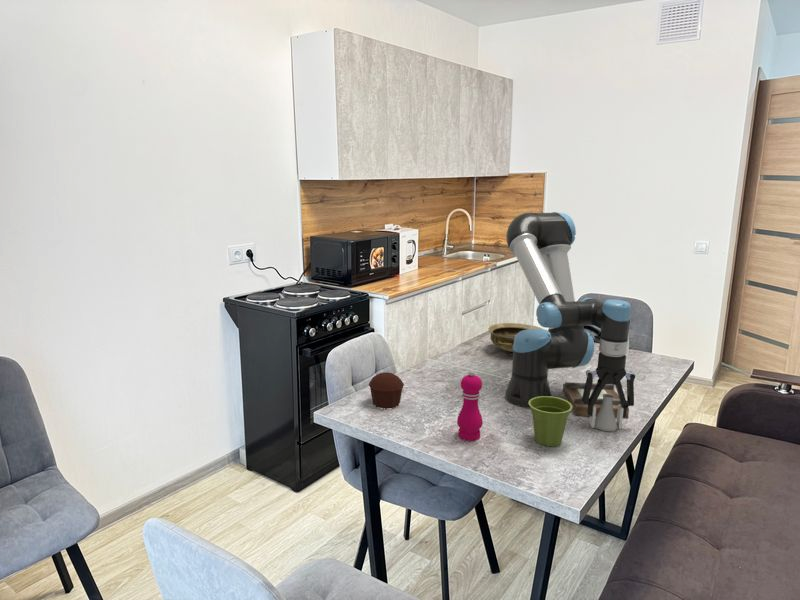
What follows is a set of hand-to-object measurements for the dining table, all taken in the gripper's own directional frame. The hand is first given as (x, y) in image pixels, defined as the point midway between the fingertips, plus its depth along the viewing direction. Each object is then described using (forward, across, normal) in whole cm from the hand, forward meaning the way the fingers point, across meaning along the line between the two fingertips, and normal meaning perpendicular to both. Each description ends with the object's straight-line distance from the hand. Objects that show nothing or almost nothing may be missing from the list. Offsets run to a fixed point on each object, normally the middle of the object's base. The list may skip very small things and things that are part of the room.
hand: (605, 426), depth 168 cm
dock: (0, +1, +17) cm, 17 cm away
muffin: (0, -67, +11) cm, 68 cm away
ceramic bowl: (0, -18, +69) cm, 72 cm away
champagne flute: (0, +12, +31) cm, 33 cm away
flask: (0, 0, 0) cm, 0 cm away
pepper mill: (0, -41, -10) cm, 42 cm away
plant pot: (0, -19, -11) cm, 22 cm away
